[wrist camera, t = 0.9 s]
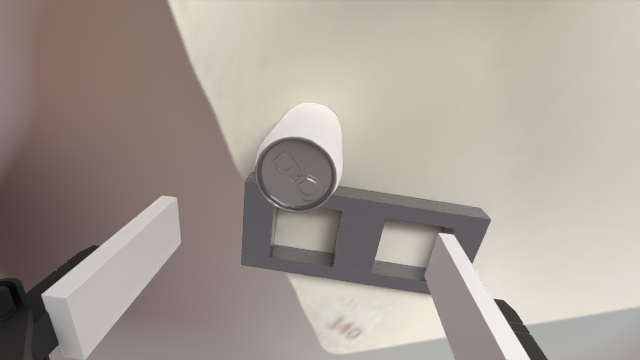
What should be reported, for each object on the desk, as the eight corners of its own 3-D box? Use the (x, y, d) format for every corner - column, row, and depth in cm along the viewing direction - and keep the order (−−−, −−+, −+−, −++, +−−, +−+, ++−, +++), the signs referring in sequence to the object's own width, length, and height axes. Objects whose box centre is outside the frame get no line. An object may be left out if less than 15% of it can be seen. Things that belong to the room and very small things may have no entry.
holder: (251, 172, 34) (245, 181, 31) (480, 208, 34) (491, 219, 31) (247, 251, 38) (241, 264, 36) (449, 283, 38) (457, 298, 36)
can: (309, 173, 33) (293, 233, 22) (267, 129, 32) (229, 171, 21) (354, 136, 31) (362, 182, 20) (313, 87, 30) (297, 109, 19)
